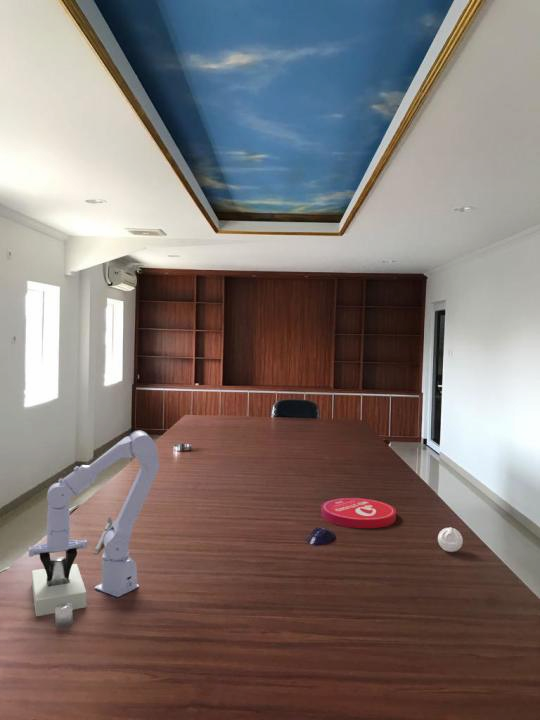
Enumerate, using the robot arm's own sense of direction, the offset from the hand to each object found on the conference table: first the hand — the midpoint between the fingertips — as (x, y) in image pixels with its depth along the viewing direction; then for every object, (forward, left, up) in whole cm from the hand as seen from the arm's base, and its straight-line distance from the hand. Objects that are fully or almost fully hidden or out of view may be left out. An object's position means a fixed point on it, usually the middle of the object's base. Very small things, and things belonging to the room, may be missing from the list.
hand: (58, 578), depth 147 cm
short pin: (-14, +9, -5) cm, 17 cm away
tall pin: (0, 0, -3) cm, 3 cm away
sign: (-40, -113, -5) cm, 120 cm away
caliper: (+21, -34, -5) cm, 40 cm away
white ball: (-81, -95, -5) cm, 125 cm away
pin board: (0, 0, -5) cm, 5 cm away
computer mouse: (-39, -80, -5) cm, 89 cm away
